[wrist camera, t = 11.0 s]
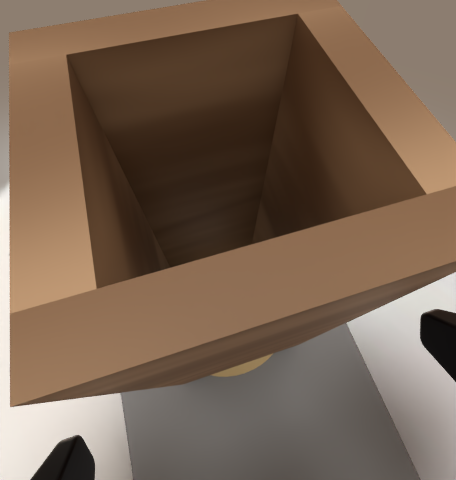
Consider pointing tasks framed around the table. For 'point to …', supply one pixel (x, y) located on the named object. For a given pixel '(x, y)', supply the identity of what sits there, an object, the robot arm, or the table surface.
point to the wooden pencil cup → (210, 192)
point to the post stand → (270, 421)
